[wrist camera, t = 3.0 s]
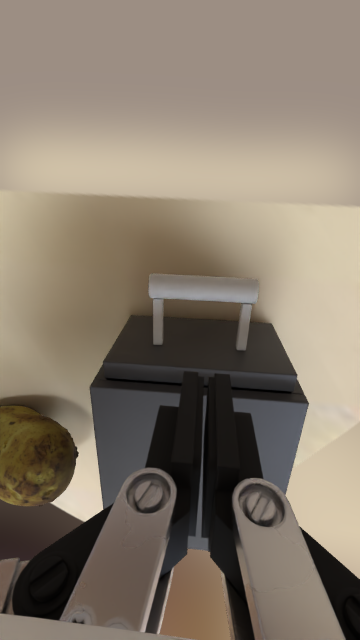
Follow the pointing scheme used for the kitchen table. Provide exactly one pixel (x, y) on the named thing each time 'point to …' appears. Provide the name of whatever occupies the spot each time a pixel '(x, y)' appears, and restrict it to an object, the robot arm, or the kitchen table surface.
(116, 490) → the dark gray cabinet
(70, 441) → the potato
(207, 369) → the handled dark box
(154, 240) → the kitchen table surface
